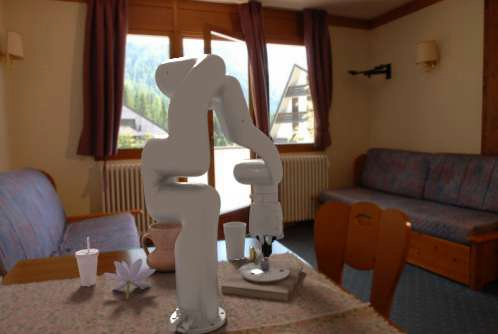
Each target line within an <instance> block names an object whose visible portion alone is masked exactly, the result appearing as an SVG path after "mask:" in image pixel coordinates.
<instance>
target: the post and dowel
mask: <svg viewBox="0 0 498 334" xmlns="http://www.w3.org/2000/svg"><path fill="white" fill-rule="evenodd" d="M255 249H256V248H255V247H254V246H249V249H248V250H249V253H248V254H249V260H250V263H254V262H255ZM269 262H270V259H269V258H267V257H263V258H262V259H261V269H263V270H267V269H269Z"/></svg>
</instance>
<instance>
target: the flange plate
mask: <svg viewBox="0 0 498 334" xmlns="http://www.w3.org/2000/svg"><path fill="white" fill-rule="evenodd" d="M262 258H264V257H263V253H262V250H260V249H259V248H257V247H256V248H255V261H256V262H254V263H249V264H247V265H244V264H243V265H244V266H243V267H242V268H241V277H242V278H243V279H244V280H246V281H249V282H253V283H261V284H269V283H277V282H281V281H283V280H285V279H287V278H288V277H289V268H288V267H287V266H286V265H284V264H285V263H284V264H281V262H277V261H269V269H267V270H263V269H261V259H262Z"/></svg>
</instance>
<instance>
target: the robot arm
mask: <svg viewBox="0 0 498 334" xmlns="http://www.w3.org/2000/svg"><path fill="white" fill-rule="evenodd" d="M154 82H155V83H156V86H157V88H158V90H159V91H160V92H161V94H163V95H164V96H165V97H167V98H168V99H170V101H169V103H168V107H167V126H168V127H167V129H168V131H167V132H168V134H161V135H156V136H155V135H154V136H153V137H150V138H149V139H148V140H147V141H146V143H145V144H144V146H143V148H142V151H141V158H140V165H141V173H142V183H143V192H144V193H143V194H144V201H145V207H146V210H147V212H148V214H149V216H150V217H151V218H152V219H153V220H155V221H157V222H158V223H161V222H165V223H174V224H180V225H183V227H182V230H181V232H180V234H179V236H178V237H177V240H176V243H175V270H176V271H175V295H176V296H175V297H176V309H175V311H174V312H173V313H172V314H171V315H170V317H169V324H168V325H167V326H168V327H167V328H168V330H169V331H170V332H171V333H172V332H173V333H174V332H175V333H176V332H178V333H182V334H206V333H211V332H213V331H215V330H218V329H219V328H221V327H222V326H223V325H224V324H225V322H226V321H227V315H226V314H227V313H226V311H225V310H224V309H223V308H222V307H220V302H219V301H220V300H219V299H220V297H219V296H220V295H219V292H220V291H219V261H218V260H219V257H218V256H219V255H218V228H219V219H220V214H221V206H222V201H221V195H220V193H219V191H218V190H217V189H216V188H215V187H213V186H212V185H210V184H206V183H203V182H188V181H185V182H184V181H183V182H181V181H180V182H177V181H176V179H175V178H197V177H201V176H202V177H203V176H204V175H205V174H206V173H208V171H209V169H210V165H211V149H210V148H211V147H210V136H209V125H208V124H209V123H208V121H209V120H208V115H209V114H208V112H209V111H212V110H213V112H214V113H215V115H216V118H217V121H218V123H219V126H220V129H221V132H222V133H223V136H224V138H225V139H226V140H228V141H229V142H231V143H233V144H236V145H238V146H240V147H243V148H246V149H248V150H250V151H252V152H253V153H255V154H256V155H258V157H260V158H246V159H240V160H239V161H237V162H236V164H235V165H234V167H233V168H232V169H233V170H232V175H233V177H234V180H235V181H236V182H237V183H239V184H241V185H246V186H253V193H249V199H251V200H253V202H251V203H250V209H249V220H248V223H249V224H248V232H249V236H250V238H254V239H256V240H258V242H259V243H260V245H261V252H262V253H263V258H267V259H269V258H270V256H271V255H273V243H274V242H275V241H276V240H281V239H283V238H284V237H285V236H284V220H283V219H284V218H283V211H282V206H281V202H280V201H279V189H278V187H279V184H280V183H281V181H282V179H283V175H284V172H283V171H284V169H283V168H284V167H283V164H282V161H281V160H282V159H281V156H280V153H279V150H278V147H277V146H276V145H275V143H274V142H273V140H272V139H270V138H269V137H268V136H267V135H266V133H264V132H263V131H261V129H259V128H257V126H255V124H254V122H253V119H252V116H251V112H250V110H249V109H250V108H249V106H248V104H247V101H246V96H245V94H244V91H243V88H242V86H241V83H240V81H239V79H237V78H236V77H235V76H233V75H229V74H227V67H226V63H225V60H224V59H223V58H222V57H221V56H220V55H217V54H214V53H205V54H204V53H203V54H195V55H190V56H183V57H179V58H172V59H167V60H165V61H163V62H161V63H160V64H159V65H158V66H157V67H156V70H155V74H154ZM266 237H267V238H266Z"/></svg>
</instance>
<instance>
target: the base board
mask: <svg viewBox="0 0 498 334" xmlns="http://www.w3.org/2000/svg"><path fill="white" fill-rule="evenodd" d="M255 262H256V261H255ZM249 263H250V259H248V260H246V262H245V263H243V264H242V265H241V266H240V267H239V268H238V269H237V270H236V271H235V272H234V273H233V274H232V275H231V276H230V277H229V278H228V279H227V280H226V281H225V282H223V284H222V285H221V293H222V294H228V295H237V296H243V297H244V296H245V297H251V298H253V297H254V298H261V299H268V300H269V299H270V300H277V301H278V300H279V301H286V302H287V301H288V300H289V298H290V296H291V294H292V293H293V291H294V288H295V286H296V285H297V283H298V281H299V279H300V278H299V276H300V274H301V272H302V270H304V269H303V266H304V265H303V264H295V263H293V264H292V263H281V262H280V263H281V264H284V265H286V266H287V267H288V268H289V277H288V278H287V279H285V280H283V281H281V282H277V283H269V284H261V283H253V282H249V281H246V280H244V279H243V278H242V277H241V268H242V267H243V266H244V265H247V264H249ZM302 273H303V272H302ZM301 275H302V274H301ZM300 277H301V276H300ZM298 278H299V279H298ZM297 280H298V281H297Z"/></svg>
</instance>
